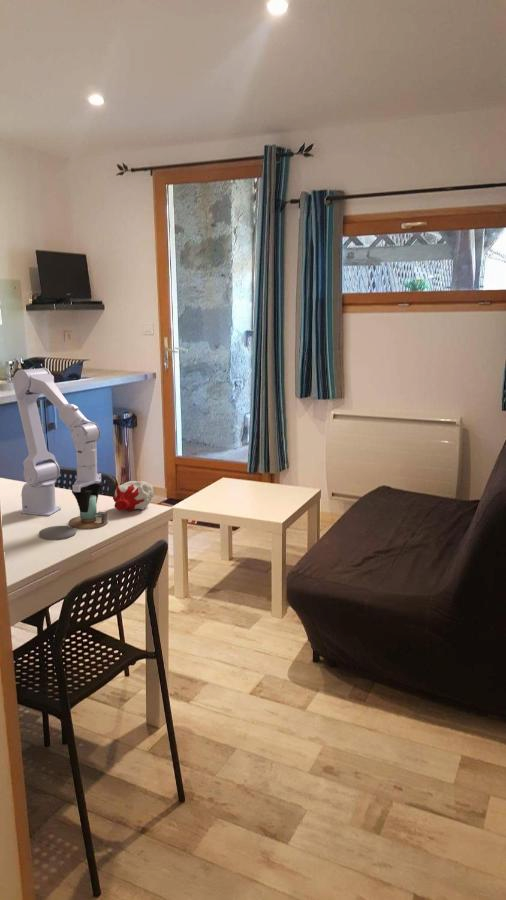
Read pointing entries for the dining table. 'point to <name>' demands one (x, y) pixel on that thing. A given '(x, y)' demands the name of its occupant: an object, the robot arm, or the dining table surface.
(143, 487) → the multicoloured piece
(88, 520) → the tan wide-brim hat
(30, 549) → the dining table surface
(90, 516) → the kettle
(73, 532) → the coaster
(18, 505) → the dining table surface
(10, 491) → the dining table surface
